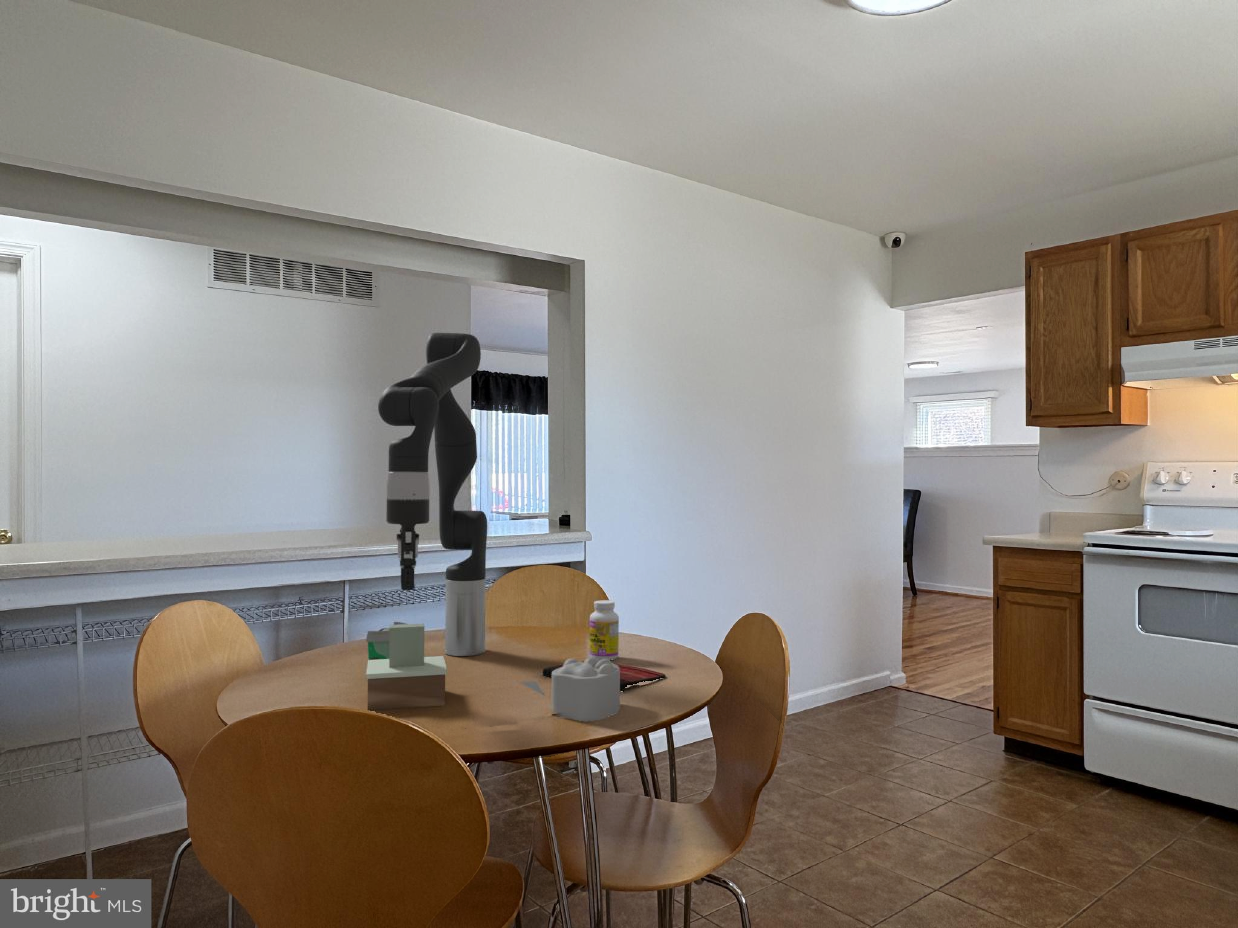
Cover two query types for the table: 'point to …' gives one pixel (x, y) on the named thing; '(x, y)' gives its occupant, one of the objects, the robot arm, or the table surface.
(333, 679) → the table surface
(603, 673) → the grey lumpy filled container
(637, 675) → the binder
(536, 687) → the mat
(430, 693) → the box
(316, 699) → the table surface
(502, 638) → the table surface
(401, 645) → the lid
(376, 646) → the food container
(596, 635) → the supplement bottle
